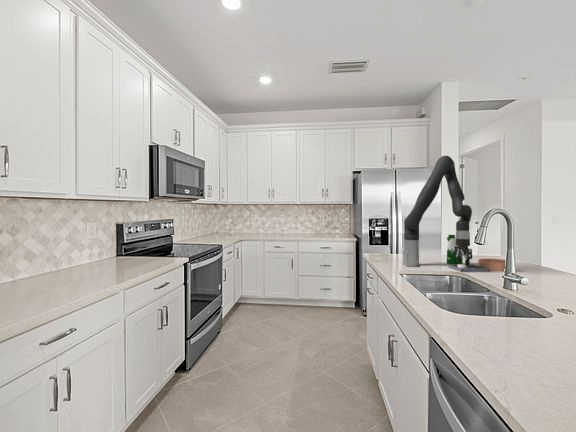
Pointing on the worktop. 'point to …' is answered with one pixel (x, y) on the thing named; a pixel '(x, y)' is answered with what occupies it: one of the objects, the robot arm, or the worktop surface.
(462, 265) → the white pebble
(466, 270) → the tray
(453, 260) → the milk carton
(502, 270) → the bowl
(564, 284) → the worktop surface
